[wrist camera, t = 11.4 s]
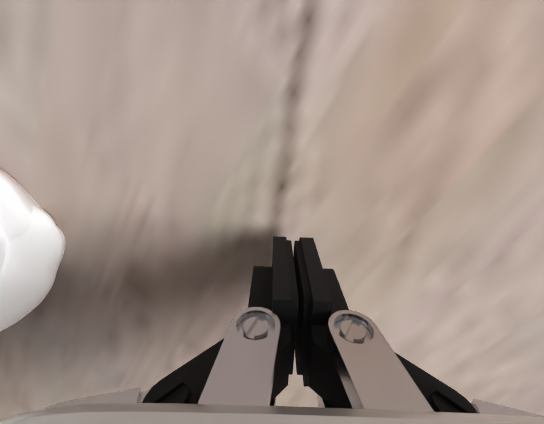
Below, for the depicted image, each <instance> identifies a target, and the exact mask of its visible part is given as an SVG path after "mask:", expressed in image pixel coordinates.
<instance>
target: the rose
mask: <svg viewBox="0 0 544 424" xmlns="http://www.w3.org/2000/svg"><path fill="white" fill-rule="evenodd" d="M64 251H65V237H64V235H63V233H62V231H61V230H60V228H59V227H58V226H57V225H56V224H55V222H54V220H53V219H52V218H51V216H50V215H49V214H48V213H46V212H45V211H44V210H43V209H42V208H41V207H40V206H39V205H38V204H37V203H36V202H35V201H34V199H33V198H32V197H31V196H30V195H29V194H28V193H27V192H26V191H25V189H24V188H23V187H22V186H21V185H20V184H19V183H18V182H16V181H15V180H14V179H13V178H12V177H11V176H9V175H8V174H7V173H5V172H4V171H3V170H1V169H0V331H2V330H4V329H6V328H8V327H10V326H11V325H13V324H15V323H17V322H18V321H19V320H21V319H22V318H23V317H25V316H26V315H27V314H29V313H30V312H31V311H32V310H33V309H34V308H36V307H37V306H38V305H39V304H40V303H41V302H42V301H43V300H44V298H45V297H46V296H47V294H48V293H49V291H50V289H51V288H52V286H53V283H54V281H55V277H56V274H57V270H58V268H59V265H60V263H61V261H62V259H63V255H64Z"/></svg>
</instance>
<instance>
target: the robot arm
mask: <svg viewBox="0 0 544 424" xmlns="http://www.w3.org/2000/svg"><path fill="white" fill-rule="evenodd" d="M294 351H295V358H296V370H297V375H303V382H304V386H309V387H310V388H311V389H312V390H314V391H315V392H316V393H317V394H318V397H317V399H318V405H319V408H316V407H285V406H275V405H276V396H277V395H278V394H279V393H280V392H281V391H282V390H283V389H284V388H285V387H286V386H287V385H288V376H289V374H292V373H293V362H294ZM0 424H544V416H541V415H537V414H533V413H529V412H525V411H521V410H517V409H513V408H509V407H505V406H501V405H497V404H493V403H489V402H485V401H481V400H477V399H473V401H472V403H470V402H469V401H468V400H467V399H466V398H465V397H463V396H462V395H461V394H459V393H458V392H457V391H455V390H454V389H452V388H450V387H449V386H447V385H446V384H444V383H443V382H441V381H439V380H438V379H436V378H435V377H433V376H431V375H430V374H428V373H427V372H425V371H423V370H422V369H420V368H419V367H417V366H415V365H414V364H412V363H411V362H409V361H407V360H406V359H404V358H403V357H401V356H400V355H398V354H396V353H395V352H394V351H393V350H392V348H391V347H390V345H389V344H388V342H387V341H386V339H385V338H384V336H383V335H382V333H381V332H380V330H379V329H378V327H377V326H376V325H375V323H374V322H373V321H372V320H371V319H369V318H368V317H367V316H365V315H363V314H361V313H359V312H356V311H352V310H349V309H348V306H347V304H346V301H345V298H344V296H343V293H342V290H341V288H340V285H339V282H338V280H337V277H336V275H335V272H334V270H333V269H323V268H322V265H321V262H320V258H319V255H318V252H317V249H316V245H315V242H314V239H313V238H300V239H299V241H295V243H294V256H293V251H292V243H291V241H289V240H286V237H273V257H272V267H263V266H254V268H253V275H252V282H251V290H250V297H249V304H248V308H246V309H244V310H242V311H240V312H239V313H237V314H236V315H235V316H234V318H233V319H232V321H231V324H230V326H229V329H228V331H227V333H226V336H225V338H224V339H222V340H221V341H219V342H218V343H216V344H215V345H213V346H212V347H210V348H209V349H207V350H206V351H204V352H203V353H201V354H200V355H198V356H197V357H195V358H194V359H192V360H190V361H189V362H187V363H186V364H184V365H183V366H181V367H180V368H178V369H177V370H175V371H174V372H172V373H171V374H169V375H168V376H166V377H165V378H163V379H162V380H160V381H159V382H158V383H157V384H155V385H154V386H153V387H152V388H151V389H150V390H149V391H144V392H141V389H140V388H135V389H129V390H124V391H119V392H114V393H108V394H103V395H98V396H92V397H87V398H82V399H76V400H71V401H66V402H61V403H58V404H55V405H52V406H49V407H47V408H45V409H42V410H37V411H33V412H28V413H23V414H19V415H16V416H13V417H10V418H6V419H3V420H0Z"/></svg>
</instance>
